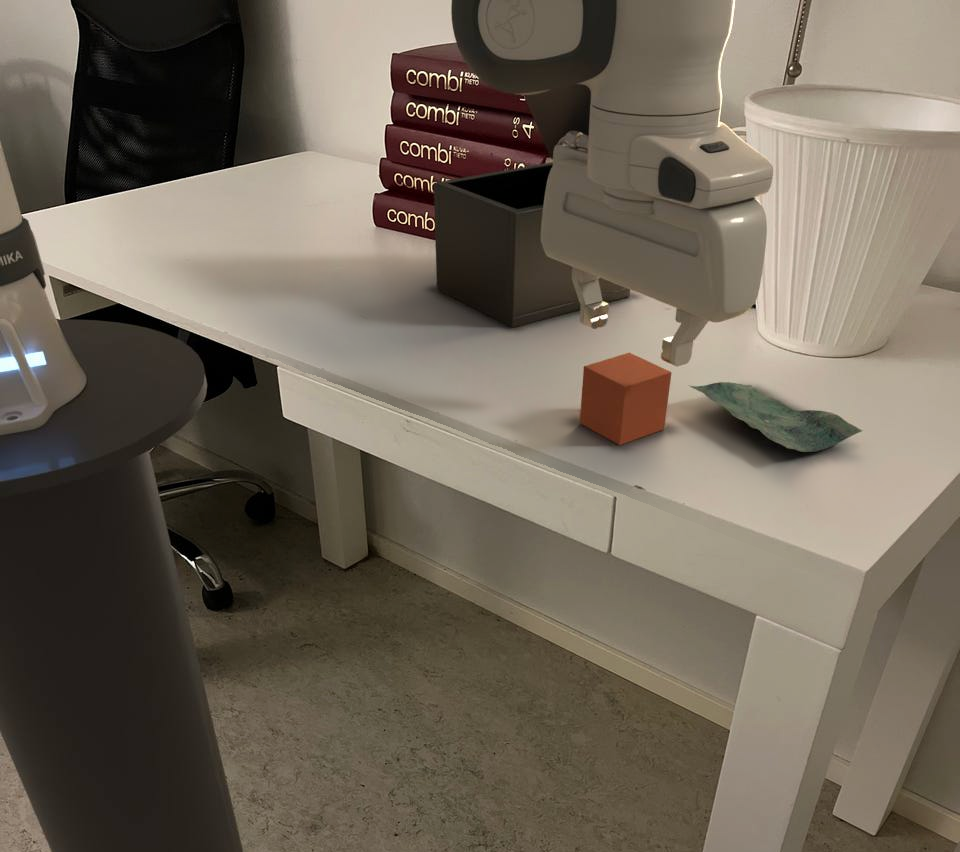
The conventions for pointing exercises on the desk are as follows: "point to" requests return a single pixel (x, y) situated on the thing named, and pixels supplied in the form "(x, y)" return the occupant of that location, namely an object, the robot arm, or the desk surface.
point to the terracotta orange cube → (624, 398)
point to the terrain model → (780, 418)
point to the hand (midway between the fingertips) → (632, 343)
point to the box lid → (560, 112)
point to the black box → (503, 248)
